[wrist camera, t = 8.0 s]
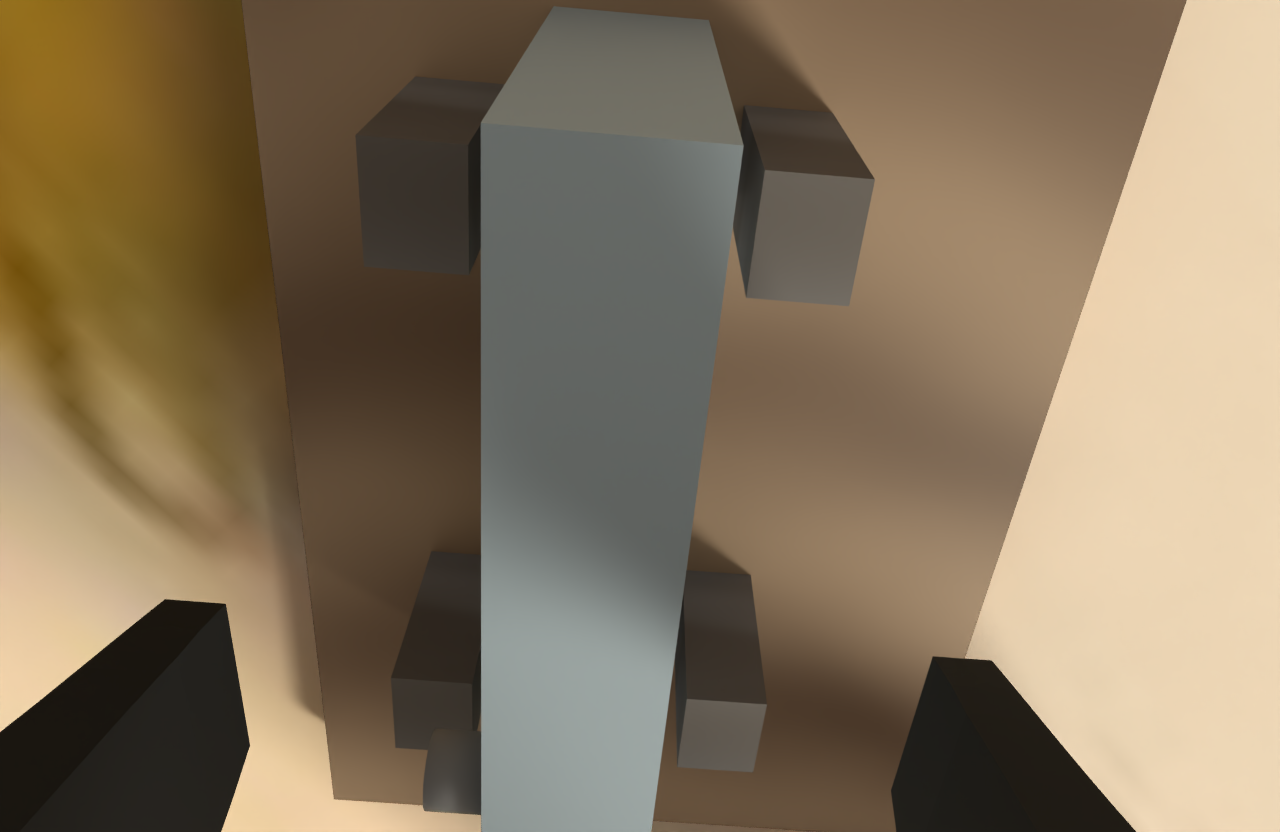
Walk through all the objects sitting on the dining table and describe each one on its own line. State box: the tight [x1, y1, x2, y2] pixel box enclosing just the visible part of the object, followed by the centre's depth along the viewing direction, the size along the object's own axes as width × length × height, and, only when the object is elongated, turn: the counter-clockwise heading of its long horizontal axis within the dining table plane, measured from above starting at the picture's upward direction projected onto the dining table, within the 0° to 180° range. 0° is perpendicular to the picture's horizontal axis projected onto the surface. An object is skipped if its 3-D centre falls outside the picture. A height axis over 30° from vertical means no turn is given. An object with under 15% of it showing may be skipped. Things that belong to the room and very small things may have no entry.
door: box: [423, 6, 744, 832], centre depth 13 cm, size 12×3×6 cm, turn 175°
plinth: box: [242, 0, 1187, 832], centre depth 15 cm, size 20×12×4 cm, turn 175°
